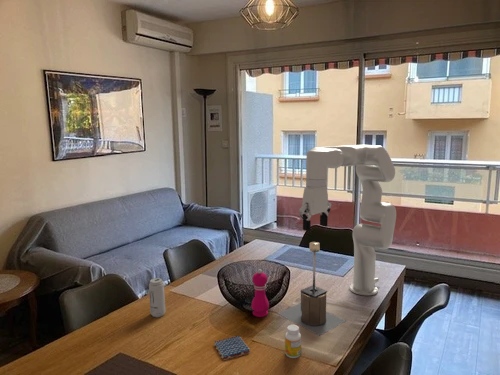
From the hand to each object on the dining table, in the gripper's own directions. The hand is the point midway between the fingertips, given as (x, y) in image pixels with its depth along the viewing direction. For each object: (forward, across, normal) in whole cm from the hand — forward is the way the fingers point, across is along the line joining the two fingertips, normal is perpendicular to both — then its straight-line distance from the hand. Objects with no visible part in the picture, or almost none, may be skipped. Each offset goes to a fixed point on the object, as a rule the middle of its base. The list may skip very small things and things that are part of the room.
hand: (315, 228), depth 146 cm
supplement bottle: (+39, +21, +9) cm, 45 cm away
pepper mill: (+39, +12, -18) cm, 44 cm away
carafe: (+37, 0, 0) cm, 37 cm away
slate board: (+38, -1, -2) cm, 39 cm away
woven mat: (+40, +35, -7) cm, 53 cm away
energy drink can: (+39, +43, -47) cm, 75 cm away
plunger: (+27, 0, 0) cm, 27 cm away
